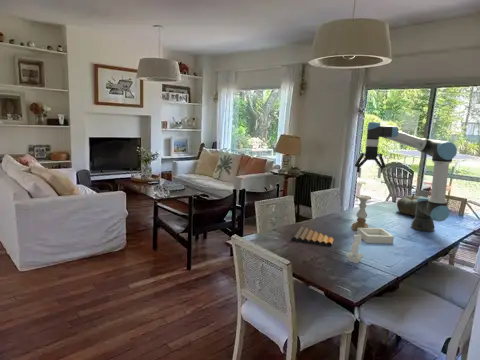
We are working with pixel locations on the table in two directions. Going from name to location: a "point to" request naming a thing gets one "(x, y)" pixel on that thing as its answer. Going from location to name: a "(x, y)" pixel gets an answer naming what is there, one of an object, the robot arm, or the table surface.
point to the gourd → (408, 204)
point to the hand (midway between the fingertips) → (369, 177)
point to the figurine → (355, 250)
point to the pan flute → (311, 237)
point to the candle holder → (361, 213)
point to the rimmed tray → (375, 235)
